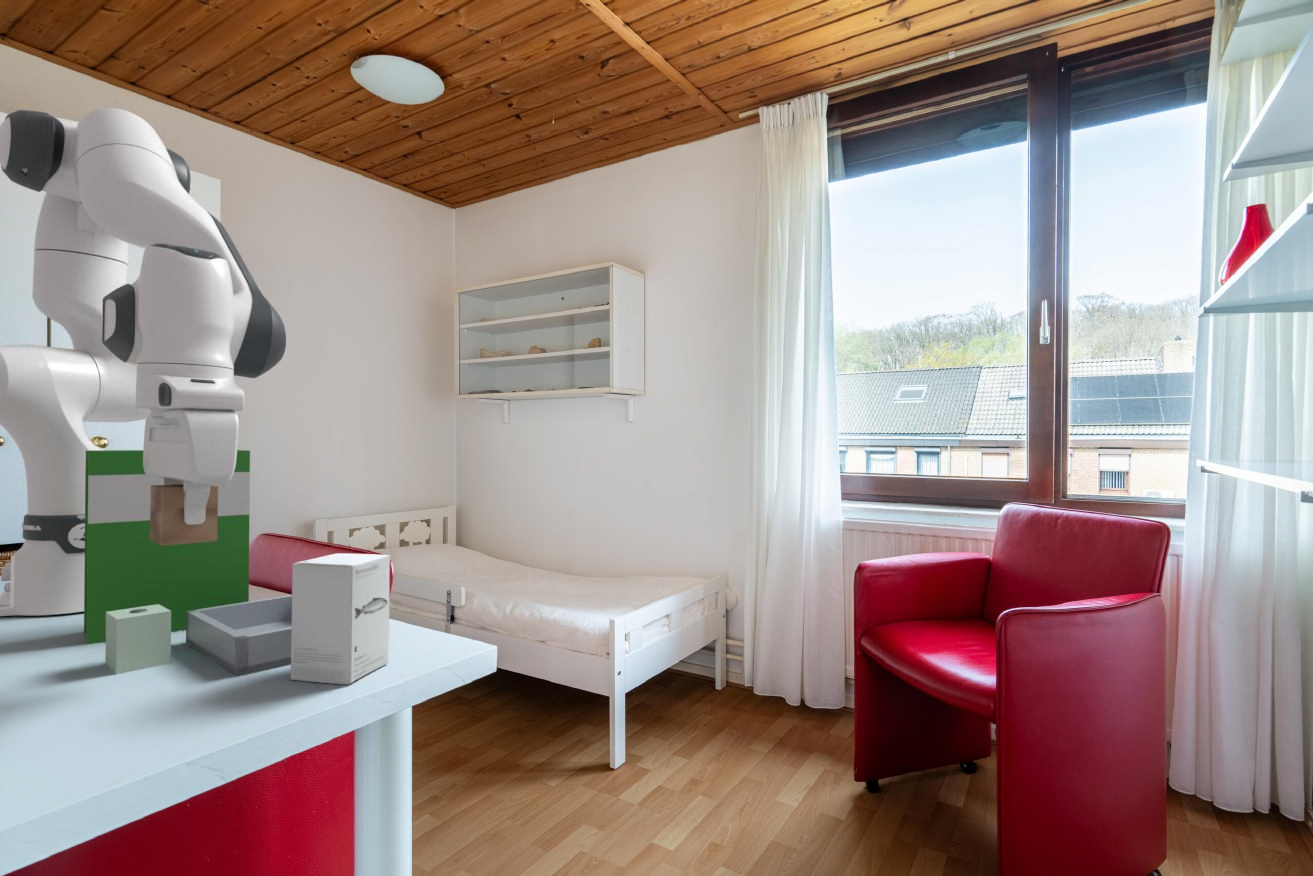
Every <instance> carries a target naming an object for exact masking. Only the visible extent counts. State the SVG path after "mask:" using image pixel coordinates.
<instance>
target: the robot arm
mask: <svg viewBox="0 0 1313 876" xmlns="http://www.w3.org/2000/svg"><path fill="white" fill-rule="evenodd" d="M0 168H1V170H2V172H3V174H4V175H5V176H6V177H7V178H8V179H9V180H10V181H11V182H13V183H15V184H17V185H19V186H21V187H23V188H27V189H29V190H31V191H35V192H37V193H40V192H42V191H43V192H46V193H45V195H44V198H43V201H42V204H41V207H40V210H39V214H38V219H37V223H36V230H35V238H34V249H33V250H34V252H33V253H34V254H33V269H32V270H33V272H32V273H33V274H32V299H33V302H34V305H35V306H36V308H37V309H38V310H39V311H40V312H41V314H43V315H44V316H46V317H47V318H49V319H50V320H52V321H54V322H56V323H57V324H59V325H60V326H61V327H63V329H64V330H65V332H67V333H68V335H69V337H70V339H71V342H72V346H73V347H72V349H71V348H65V347H63V348H62V347H56V346H55V347H54V346H46V345H45V346H43V345H35V344H7V345H5V344H4V345H0V426H1V427H2V428H4V430H5V431H6V432H7V434H9V435H10V437H11V438H12V439H13V440H14V442H15V444H16V445H17V447H18V449H19V451H20V453H21V456H22V459H23V463H24V468H25V476H26V478H25V479H26V489H27V490H26V492H27V514H24V516H23V521H22V522H23V523H22V524H21V529H22V538H23V539H24V542H23V544H22V546H21V547H20V548H19V549H18V550H17V551H15V553H14V554H13V555H11V556H10V562H5V563H4V564H5V565H3V566H1V567H0V568H1V572H0V579H1V580H0V581H1V582H5V583H4V588H3V589H4V592H2V593H1V594H0V617H7V616H9V617H10V616H52V615H62V614H63V615H64V614H65V615H66V614H73V613H81V612H84V572H85V466H86V450H106V449H104V448H102V447H100V446H98V445H95V444H94V443H93V442H92V441H91V440H90V439H89V438H88V436H87V434H86V432H85V429H84V425H83V422H86V423H87V422H89V423H90V422H91V423H129V422H136V421H142V420H143V421H144V420H145V425H144V434H143V435H144V436H143V468H144V472H145V473H146V474H147V475H152V476H158V477H161V485H174V484H183V491H184V492H185V498H184V507H182V522H184V523H185V524H188V525H193V524H202V523H203V522H204V521H205V507H206V504H207V501H208V498H209V494H210V483H227V482H229V481H230V480H231V478H232V476H233V473H234V470H235V466H236V458H237V450H238V444H239V431H240V430H239V428H240V427H239V426H240V424H239V422H240V421H239V416H238V415H239V414H238V413H237V412H241V411H243V410H244V409H245V399H246V398H245V393H244V390H243V389H242V388H241V387H239V385H237V384H236V381H235V378H234V377H235V376H236V377H243V378H249V379H256V378H259V377H260V376H263V375H264V374H265V373H267V372H269V371H270V370H271V369H273V368H274V367H275V366H276V365H277V364H279V362H280V361H281V360H282V359H283V357H284V354H285V351H286V346H287V335H286V334H287V333H286V327H285V324H284V322H283V319H282V318H281V316H280V314H279V313H278V311H277V310H276V309H275V307H274V306H273V304H272V303H270V301H269V300H268V299H267V298H266V297H265V295H264V294H263V293H262V291H261V290H260V288H259V286H258V285H257V283H256V281H255V279H254V277H253V275H252V274H251V272H250V270H249V268H248V267H247V264H246V262H245V260H244V259H243V258H242V255H241V254H240V253H239V250H238V249H237V247H236V245H235V243H234V241H233V240H232V238H231V237H230V235H229V233H228V231H227V229H226V228H225V227H224V225H223V224H222V223H221V221H220V220H219V219H217V218H216V217H215V216H214V215H213V214H211V213H210V212H209V211H207V210H206V209H205V208H204V207H203V206H201V205H200V204H199V203H198V202H197V201H196V200H195V199H194V198H193V196H191V194H192V178H191V171H190V170H191V169H190V166H189V165H188V163H187V162H186V160H185V158H184V157H183V156H182V155H180V154H179V153H177V152H175V151H173V150H172V149H169V148H167V147H166V146H165V144H164V142H163V141H162V139H161V138H160V136H159V134H158V132H156V130H155V129H154V128H153V127H152V125H150V123H148V122H147V121H146V119H143V118H142V117H141V116H139V115H137V114H135V113H133V112H132V111H129V110H125V109H122V108H117V107H103V108H102V107H101V108H96V109H94V110H93V109H92V110H91V111H89V112H88V113H86V114H85V115H83V116H82V117H81V119H80V120H79V121H76V120H72V119H67V118H63V117H59V116H58V117H57V116H53V115H51V114H49V113H48V112H44V111H36V110H26V109H17V110H16V111H13V112H10V113H8V114H7V115H6V116H5V118H4V121H2V123H1V124H0ZM129 244H130V245H132V246H135V247H139V248H141V249H144V251H143V255H142V262H141V266H140V271H139V275H138V277H137V278H136V280H135V281H134V282H132V283H128V277H129V276H128V275H129V274H128V272H129Z"/></svg>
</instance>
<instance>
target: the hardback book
mask: <svg viewBox="0 0 1313 876" xmlns="http://www.w3.org/2000/svg"><path fill="white" fill-rule="evenodd" d="M250 468H251V450H244V449H237V458H236V466H235V470H234V473H233V476H232V478H231V480H230V481H229V482H227V483H210V485H215V486H218V519H217V541H211V542H200V543H189V544H177V545H166V546H162V545H159V544H157V543H155V542H152V541H150V500H151V485H161V477H158V476H152V475H147V474H146V473H145V472H144V468H143V450H141V449H140V450H139V449H138V450H137V449H136V450H135V449H134V450H130V449H128V450H127V449H125V450H123V449H121V450H120V449H117V450H115V449H113V450H111V449H109V450H108V449H105V450H86V466H85V572H84V611H83V633H84V634H86V641H85V642H86V645H94V644H100V643H106V612H108V611H115V610H122V609H129V608H136V607H143V606H149V605H156V604H159V605H161V606H163V607H165V608H167V609H168V610H170V611H171V633H175V632H181V631H186V611H191V610H197V609H204V608H210V607H216V606H223V605H229V604H236V603H242V602H248V601H250V595H249V594H250V591H249V590H250V589H249V588H250V586H249V585H250V510H251V509H250V502H251V501H250V498H251V495H250V494H251V493H250V492H251V491H250V487H251V483H250V482H251V481H250V480H251V469H250Z"/></svg>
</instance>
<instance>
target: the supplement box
mask: <svg viewBox="0 0 1313 876" xmlns="http://www.w3.org/2000/svg"><path fill="white" fill-rule="evenodd" d="M390 557H391V555H389V554H378V553H377V554H375V553H374V554H373V553H341V552H339V553H333V554H327V555H323V556H319V557H315V558H311V559H305V560H302V561H301V560H300V561H297V562H294V563H292V571H291V574H292V577H291V579H292V581H291V595H292V627H291V664H290V680H292V681H300V682H301V681H302V682H313V683H322V684H323V683H324V684H334V685H335V684H336V685H348V686H349V685H351V684H352V683H354V682H355V681H357V680H359V679H361V678H363V677H364V676H366V675H368V674H370V673H371V672H373V671H375V670H378V669H379V668H381V667H384V666H385V665H387V664H388V663H389V653H390V652H389V651H390V650H389V648H390V647H389V643H390V639H389V638H390V577H391V576H390V572H391V571H390V570H391V567H390V563H391V561H390V560H391V558H390Z"/></svg>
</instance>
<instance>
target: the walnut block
mask: <svg viewBox="0 0 1313 876" xmlns="http://www.w3.org/2000/svg"><path fill="white" fill-rule="evenodd" d="M184 498H185V492H184V491H183V484H174V485H151V500H150V541H152V542H155V543H157V544H159V545H162V546H166V545H177V544H189V543H200V542H211V541H217V519H218V486H215V485H210V494H209V498H208V501H207V504H206V507H205V521H204V522H203V523H202V524H193V525H188V524H185V523H184V522H182V507H184Z"/></svg>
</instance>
